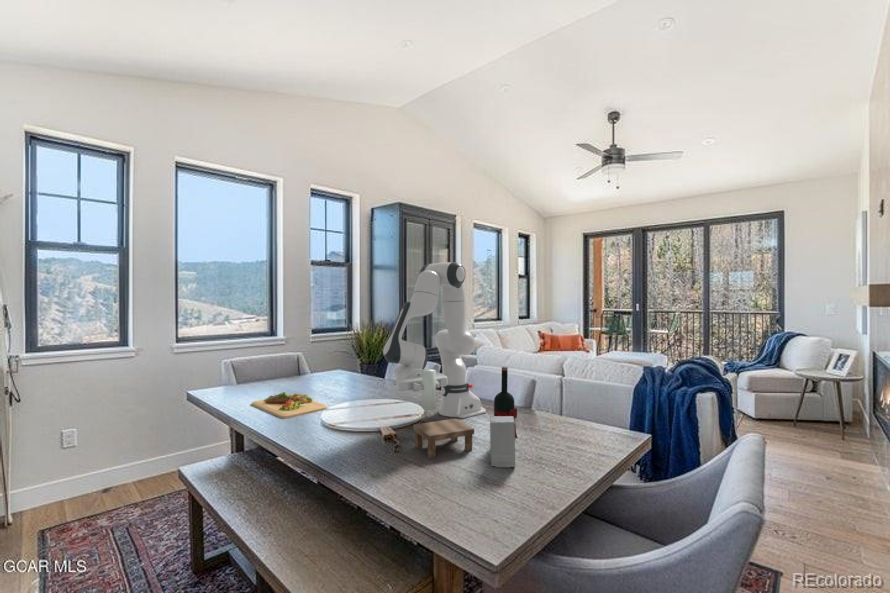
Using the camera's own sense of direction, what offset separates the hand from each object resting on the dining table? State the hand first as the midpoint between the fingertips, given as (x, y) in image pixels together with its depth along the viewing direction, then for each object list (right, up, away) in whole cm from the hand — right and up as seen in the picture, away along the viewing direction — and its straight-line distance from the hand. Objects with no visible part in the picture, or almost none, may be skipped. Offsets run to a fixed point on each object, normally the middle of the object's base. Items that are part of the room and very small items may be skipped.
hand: (429, 386), depth 164 cm
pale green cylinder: (0, -8, +1) cm, 8 cm away
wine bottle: (+28, -23, +1) cm, 36 cm away
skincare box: (+25, -23, -14) cm, 37 cm away
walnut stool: (+5, -23, 0) cm, 23 cm away
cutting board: (-71, -21, +54) cm, 92 cm away
